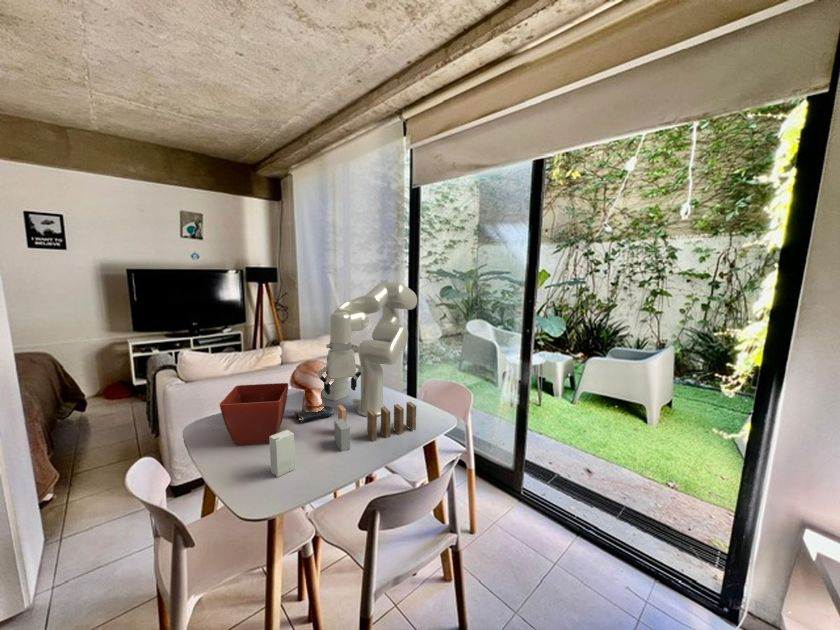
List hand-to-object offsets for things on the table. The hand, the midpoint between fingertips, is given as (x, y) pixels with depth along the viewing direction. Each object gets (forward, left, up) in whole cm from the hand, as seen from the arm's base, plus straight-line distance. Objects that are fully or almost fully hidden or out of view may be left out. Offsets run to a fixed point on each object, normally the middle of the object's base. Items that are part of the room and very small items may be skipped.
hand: (340, 391), depth 128 cm
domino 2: (+16, +4, -17) cm, 24 cm away
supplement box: (-20, +32, -17) cm, 41 cm away
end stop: (+5, -8, -17) cm, 19 cm away
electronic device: (-17, +10, -17) cm, 26 cm away
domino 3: (+20, +8, -17) cm, 27 cm away
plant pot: (-28, -11, -17) cm, 34 cm away
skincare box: (-6, -27, -17) cm, 32 cm away
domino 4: (+24, +12, -17) cm, 32 cm away
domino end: (0, +1, -17) cm, 17 cm away
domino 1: (+12, 0, -17) cm, 21 cm away
